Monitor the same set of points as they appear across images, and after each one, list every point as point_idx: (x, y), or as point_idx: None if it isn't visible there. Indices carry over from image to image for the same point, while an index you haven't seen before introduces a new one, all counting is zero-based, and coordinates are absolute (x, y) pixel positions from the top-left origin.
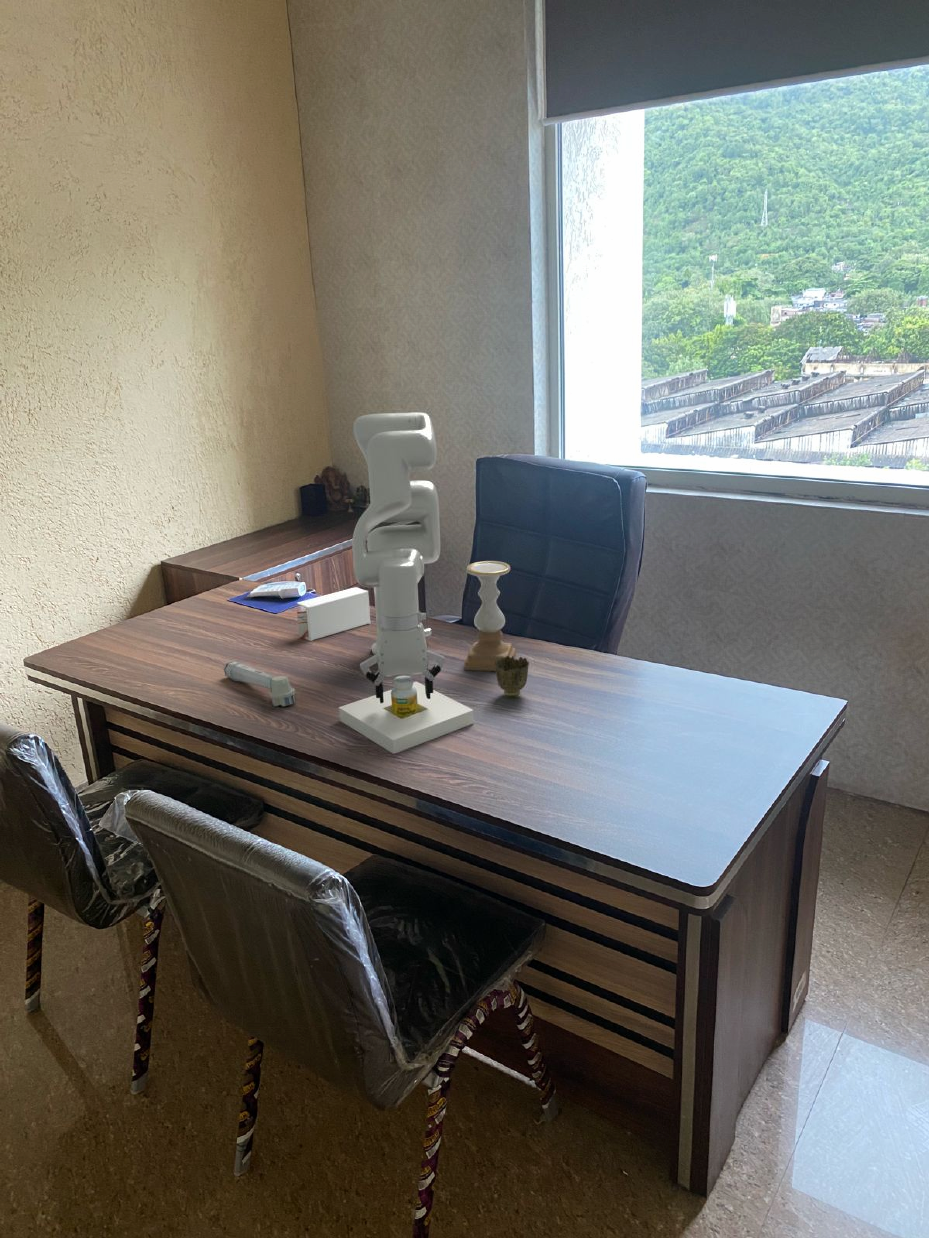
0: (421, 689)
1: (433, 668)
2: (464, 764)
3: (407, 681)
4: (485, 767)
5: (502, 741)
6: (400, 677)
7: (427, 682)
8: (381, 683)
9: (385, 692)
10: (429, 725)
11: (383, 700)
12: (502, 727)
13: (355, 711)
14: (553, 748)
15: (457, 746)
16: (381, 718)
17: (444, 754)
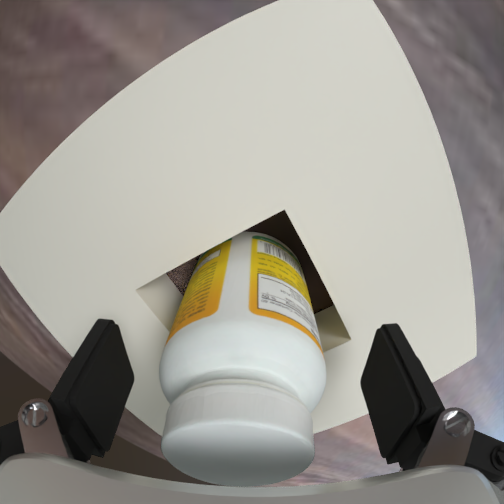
0: (377, 92)
1: (476, 468)
2: (342, 461)
3: (265, 480)
4: (371, 463)
5: (450, 402)
6: (217, 439)
7: (387, 460)
8: (89, 431)
9: (145, 84)
10: (313, 431)
11: (131, 387)
12: (488, 351)
13: (37, 289)
14: (490, 413)
15: (360, 421)
16: (144, 370)
17: (319, 442)
